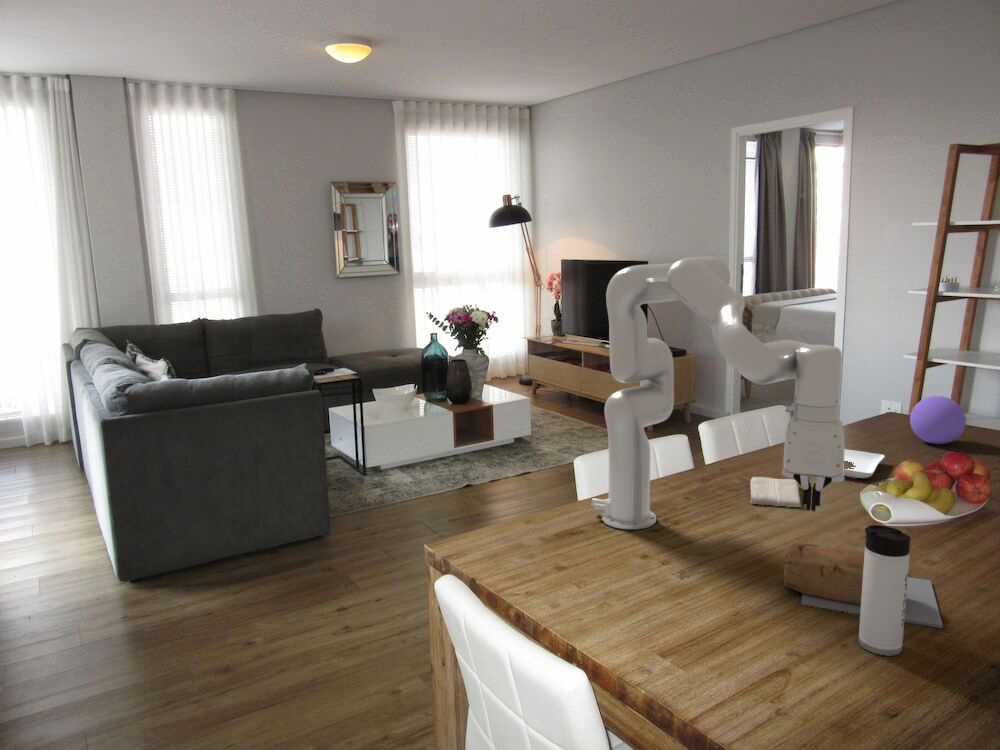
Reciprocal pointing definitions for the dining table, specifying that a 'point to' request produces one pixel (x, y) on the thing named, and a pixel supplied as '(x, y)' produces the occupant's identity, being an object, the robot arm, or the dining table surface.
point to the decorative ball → (937, 420)
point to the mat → (917, 608)
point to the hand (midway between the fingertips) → (810, 508)
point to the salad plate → (861, 463)
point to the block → (825, 572)
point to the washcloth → (774, 492)
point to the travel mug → (884, 590)
